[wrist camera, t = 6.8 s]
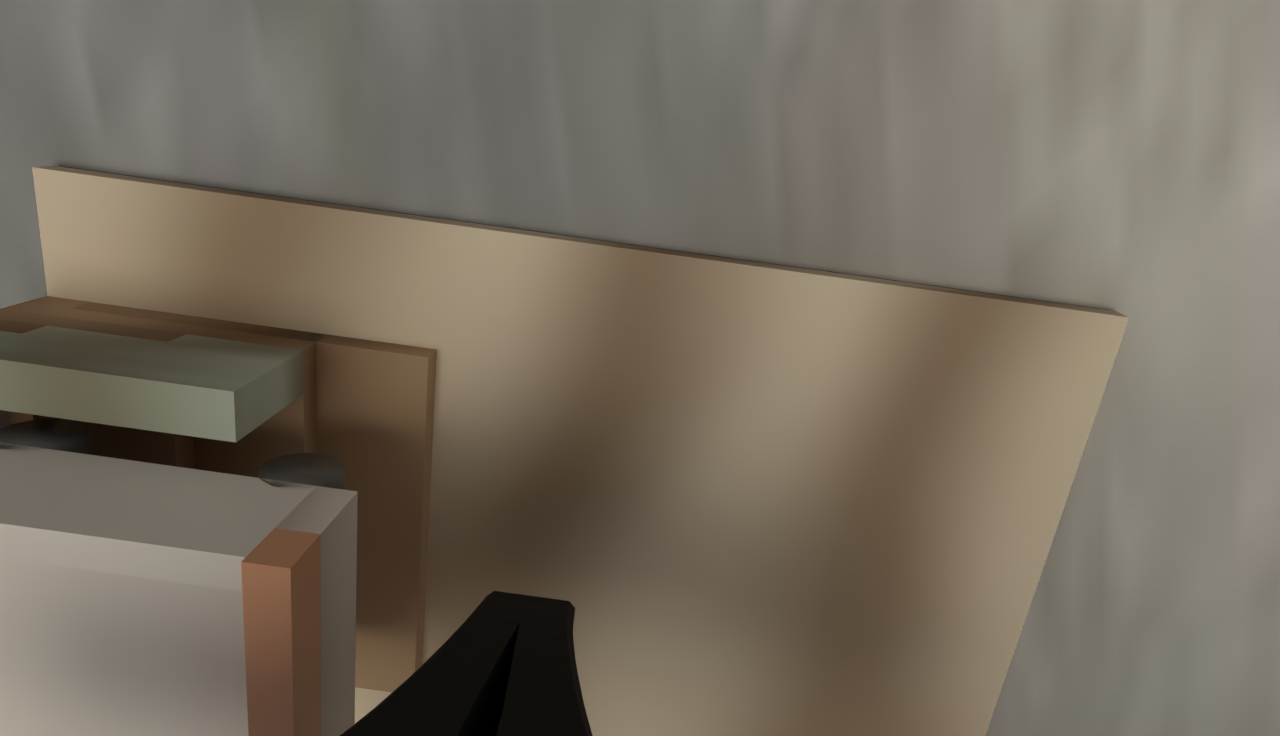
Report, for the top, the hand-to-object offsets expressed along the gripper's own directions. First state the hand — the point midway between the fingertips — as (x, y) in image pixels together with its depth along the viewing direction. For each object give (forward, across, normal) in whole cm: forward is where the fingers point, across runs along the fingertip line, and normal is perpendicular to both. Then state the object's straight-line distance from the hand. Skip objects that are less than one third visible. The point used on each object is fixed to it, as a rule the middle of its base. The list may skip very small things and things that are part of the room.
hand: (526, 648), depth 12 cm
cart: (+1, +6, 0) cm, 6 cm away
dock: (+3, 0, 0) cm, 4 cm away
